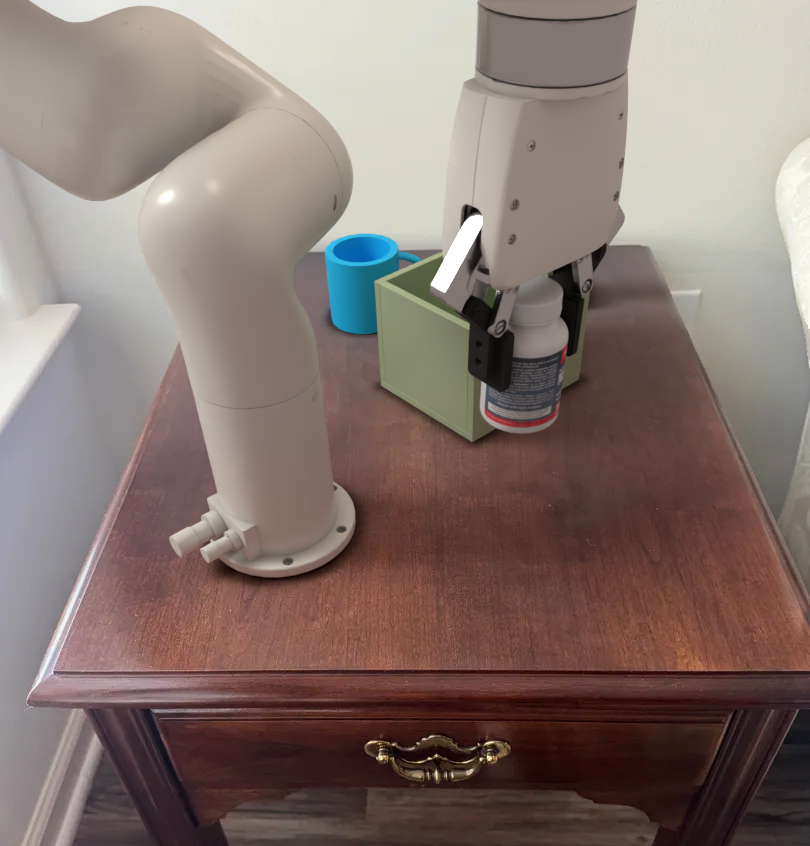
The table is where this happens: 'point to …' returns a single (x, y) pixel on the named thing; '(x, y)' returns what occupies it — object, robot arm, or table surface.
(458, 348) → the chest
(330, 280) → the mug
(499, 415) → the pill bottle
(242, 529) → the robot arm
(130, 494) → the table surface
